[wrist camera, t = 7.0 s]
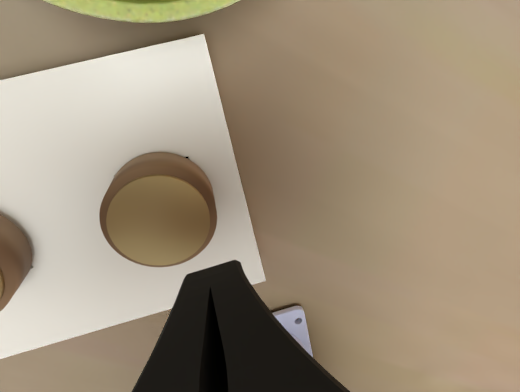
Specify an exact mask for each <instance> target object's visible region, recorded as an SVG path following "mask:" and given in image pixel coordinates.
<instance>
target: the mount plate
mask: <svg viewBox="0 0 520 392" xmlns="http://www.w3.org/2000/svg"><path fill="white" fill-rule="evenodd" d="M153 152H167V153H173V154H177V155H180V156H183V157H186V156H189V159H190V160H191V161H192V162H194V163H195V164H196V165H198V166H199V167H200V168H201V169H202V170H203V171H204V173H205V174H206V175H207V177H208V179H209V181H210V183H211V185H212V188H213V193H214V199H215V204H216V210H217V225H216V229H215V232H214V235H213V237H212V239H211V241H210V242H209V244H208V245H207V246H206V248H205V249H204V250H203V251H202V252H201V253H199V254H198V255H197V256H195V257H194V258H192V259H191V260H188V261H186V262H184V263H181V264H178V265H174V266H169V267H149V266H144V265H140V264H137V263H134V262H132V261H129V260H128V259H126V258H124V257H122V256H121V255H120V254H118V253H117V252H116V251H115V250H114V249H113V248H112V247H111V246H110V244H109V243H108V242H107V240H106V239H105V237H104V235H103V232H102V230H101V226H100V219H99V213H100V206H101V203H102V200H103V198H104V195H105V194H106V192H107V190H108V188H109V186H110V184H111V182H112V180H113V178H114V177H115V175H116V173H117V172H118V171H119V170H120V169H121V167H122V166H124V165H125V164H126V163H127V162H129V161H130V160H132V159H134V158H136V157H138V156H141V155H144V154H148V153H153ZM0 215H2V216H4V217H6V218H7V219H8V220H10V221H11V222H13V223H14V224H15V225H16V226H17V227H18V228H19V229H20V230H21V231H22V232H23V233H24V235H25V236H26V238H27V240H28V242H29V244H30V246H31V249H32V265H31V268H30V271H29V273H28V274H27V276H26V277H25V279H24V280H23V282H22V283H21V285H20V286H19V288H18V289H17V291H16V292H15V294H14V295H13V297H12V298H11V300H10V301H9V303H8V304H7V305H6V306H5V308H4V309H3V310H1V311H0V359H2V358H5V357H9V356H12V355H15V354H19V353H22V352H26V351H29V350H32V349H36V348H39V347H43V346H46V345H49V344H53V343H56V342H60V341H63V340H66V339H70V338H73V337H77V336H80V335H83V334H87V333H90V332H94V331H97V330H100V329H104V328H107V327H111V326H114V325H117V324H121V323H124V322H128V321H131V320H134V319H138V318H141V317H145V316H148V315H151V314H155V313H158V312H162V311H165V310H168V309H172V307H173V305H174V303H175V300H176V298H177V295H178V293H179V290H180V288H181V285H182V282H183V280H184V278H185V276H186V275H187V274H189V273H193V272H196V271H199V270H202V269H206V268H209V267H212V266H216V265H219V264H222V263H225V262H229V261H232V260H237V261H239V262H241V265H242V268H243V271H244V273H245V275H246V277H247V279H248V280H249V282H250V284H251V285H253V284H257V283H260V282H264V281H266V280H265V276H264V272H263V268H262V264H261V260H260V256H259V252H258V248H257V244H256V240H255V236H254V232H253V228H252V224H251V220H250V216H249V212H248V208H247V204H246V200H245V196H244V192H243V188H242V184H241V180H240V176H239V172H238V168H237V164H236V160H235V156H234V152H233V148H232V144H231V140H230V136H229V132H228V128H227V124H226V120H225V116H224V112H223V108H222V104H221V100H220V96H219V92H218V88H217V84H216V80H215V76H214V72H213V68H212V64H211V60H210V56H209V52H208V48H207V44H206V40H205V36H204V34H201V35H197V36H193V37H188V38H184V39H180V40H175V41H171V42H166V43H162V44H158V45H153V46H149V47H144V48H140V49H136V50H131V51H127V52H122V53H118V54H114V55H109V56H105V57H101V58H96V59H92V60H87V61H83V62H79V63H74V64H70V65H65V66H61V67H57V68H52V69H48V70H43V71H39V72H35V73H30V74H26V75H22V76H17V77H13V78H8V79H4V80H0Z"/></svg>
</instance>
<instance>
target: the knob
mask: <svg viewBox="0 0 520 392" xmlns="http://www.w3.org/2000/svg"><path fill="white" fill-rule="evenodd" d="M99 219H100V226H101V230H102V232H103V235H104V237H105V239H106V240H107V242H108V243H109V244H110V246H111V247H112V248H113V249H114V250H115V251H116V252H117V253H118V254H120V255H121V256H122V257H124V258H126V259H128V260H129V261H132V262H134V263H137V264H140V265H144V266H149V267H169V266H174V265H178V264H181V263H184V262H186V261H188V260H191V259H192V258H194V257H195V256H197V255H198V254H199V253H201V252H202V251H203V250H204V249H205V248H206V246H207V245H208V244H209V242H210V241H211V239H212V237H213V235H214V232H215V229H216V225H217V210H216V204H215V199H214V193H213V188H212V185H211V183H210V181H209V179H208V177H207V175H206V174H205V173H204V171H203V170H202V169H201V168H200V167H199V166H198V165H196V164H195V163H194V162H192V161H191V160H189V159H187V158H185V157H183V156H180V155H177V154H173V153H167V152H153V153H148V154H144V155H141V156H138V157H136V158H134V159H132V160H130V161H129V162H127V163H126V164H125V165H124V166H122V167H121V169H120V170H119V171H118V172H117V173H116V175H115V177H114V178H113V180H112V182H111V184H110V186H109V188H108V190H107V192H106V194H105V195H104V198H103V200H102V203H101V206H100V213H99Z"/></svg>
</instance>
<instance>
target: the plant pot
mask: <svg viewBox="0 0 520 392" xmlns="http://www.w3.org/2000/svg"><path fill="white" fill-rule="evenodd" d="M42 1H45V2H47V3H50V4H52V5H55V6H58V7H60V8H63V9H66V10H70V11H73V12H76V13H80V14H84V15H88V16H93V17H98V18H103V19H109V20H116V21H124V22H136V23H158V22H173V21H179V20H186V19H190V18H194V17H198V16H203V15H207V14H209V13H212V12H215V11H217V10H220V9H223V8H226V7H228V6H230V5H232V4H234V3H236V2H238V1H240V0H42Z"/></svg>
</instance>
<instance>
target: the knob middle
mask: <svg viewBox="0 0 520 392" xmlns="http://www.w3.org/2000/svg"><path fill="white" fill-rule="evenodd" d="M31 265H32V249H31V246H30V244H29V242H28V240H27V238H26V236H25V235H24V233H23V232H22V231H21V230H20V229H19V228H18V227H17V226H16V225H15V224H14V223H13V222H11V221H10V220H8V219H7V218H6V217H4V216H2V215H0V311H1V310H3V309H4V308H5V306H6V305H7V304H8V303H9V301H10V300H11V298H12V297H13V295H14V294H15V292H16V291H17V289H18V288H19V286H20V285H21V283H22V282H23V280H24V279H25V277H26V276H27V274H28V273H29V271H30V268H31Z"/></svg>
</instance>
